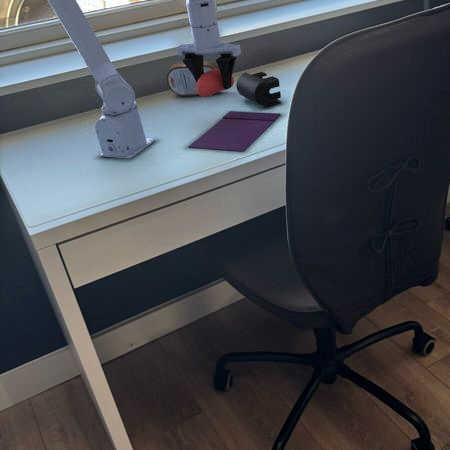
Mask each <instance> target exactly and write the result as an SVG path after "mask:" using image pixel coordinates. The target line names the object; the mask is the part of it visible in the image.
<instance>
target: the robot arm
mask: <svg viewBox="0 0 450 450" xmlns="http://www.w3.org/2000/svg"><path fill="white" fill-rule="evenodd" d="M47 2H48V4H49V5H50V7H51V8H52V10H53V12H54V14H55V15H56V17H57V18H58V20H59V22H60V23H61V25H62V27H63V28H64V30H65V32H66V33H67V35H68V37H69V39H70V40H71V42H72V44H73V45H74V47H75V49H76V50H77V52H78V53H79V55H80V57H81V58H82V60H83V62H84V63H85V65H86V66H87V69H88V71H89V72H90V74H91V77H93V79H94V82H95V90H96V93H97V95H98V96H99V97H100V98H101V100H102V101H103V102H102V105H101V108H100V109H101V116H100V118H99V119H98V120H97V121H96V122H95V127H94V128H95V133H96V135H97V139H98V142H99V146H100V149H101V153H100V154H99V155H100V157H105V158H106V157H107V158H117V159H127V160H128V159H129V160H130V159H132V158H134V157H135V156H136V155H138V154H139V153H141V152H142V151H143V150H145V149H146V148H147V147H149V146H150V145H151V144H153V143H154V142H155V141H156V138H151V137H146V135H145V131H144V127H143V123H142V119H141V116H140V111H139V107H138V103H137V102H136V93H135V90H134V89H133V87H132V86H131V85H130V84H129V83H128V82H126V80H125V78H124V77H123V76H122V75H121V74H120V73H119V72H118V70H117V68H116V67H115V66H114V64H113V63H112V61H111V59H110V58H109V56H108V54H107V53H106V50H105V49H104V47H103V45H102V43H101V41H100V40H99V38H98V35H96V33H95V31H94V29H93V28H92V25H91V24H90V22H89V21H88V19H87V17H86V15H85V13H84V12H83V10H82V8H81V6H80V4H79V3H78V1H77V0H47ZM185 5H186V11H187V15H188V16H187V17H188V21H189V26H190V32H191V37H192V43H187V44H186V43H185V44H179V45H178V46H176V51H177V55H178V56H179V57H180V56H181V57H183V56H184V58H183V59H182V63H184V64H185V65H186V66H187V68H188V69H189V70H190V72H191V73H192V75H193V77H194V79H195V81H196V83H197V82H198V80H199V78H200V76H202V75H203V74H204V66H203V62H204V56H219V57H218V58H215V62H216V65H218V67H219V69H220V72H221V76H222V82H223V87H224V89H225V90H224V91H226V90H227V91H228V90H229V89H231V88H232V87H231V81H232V77H233V71H234V68H235V64H236V61H237V57H238V56H240V55H242V49H241V44H234V43H225V42H221V41H222V40H221V36H220V29H219V23H218V16H217V11H216V7H215V6H216V4H215V0H185ZM230 87H231V88H230Z"/></svg>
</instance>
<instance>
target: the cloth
mask: <svg viewBox="0 0 450 450" xmlns="http://www.w3.org/2000/svg"><path fill="white" fill-rule="evenodd" d="M281 116H282V113H278V112H257V111H237V110H235V111H234V110H230V111H228V112H227V113H226V114H225V115H224V116H223V117H222V118H221V119H220V120H219V121H217V123H215V124H214V125H212V126H211V128H209V129H207V131H205V133H203V134H202V135H200V136H199V137H198V138H197V139H196V140H195V141H193V142H192V143H191V144H190V145H189V146H188V149H200V150H201V149H202V150H214V151H215V150H216V151H227V152H241V153H244V152H245V151H246V150H247V149H248V148H249V147H250V146H251V145H252V144H253V143H254V142H255V141H256V140H257V139H259V137H260V136H261V135H263V133H265V132H266V130H267V129H269V127H271V125H272V124H274V123H275V122H276V121H277V120H278V119H279V118H280V117H281Z"/></svg>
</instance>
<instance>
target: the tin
mask: <svg viewBox="0 0 450 450" xmlns="http://www.w3.org/2000/svg"><path fill="white" fill-rule="evenodd" d="M203 66H204V73H205V72H207V71H210V70H220V69H219V67H218V64H217V63H215V62H213V61H207V60H206V61H205V60H203ZM165 76H166V77H165V80H166V81H165V82H166V84H167V87H168V89H169V90H170V91H171V92H172V93H174V95H177V96H180V97H192V96H194V97H195V96H200V95H199V94H198V92H197V87H196V86H197V83H196V81H195V79H194V77H193V75H192V73H191V72H190V70H189V69H188V68H187V66H186V65H185V64H184V63H183V62H177V63H174V64H172V65H171V67H169V69H168V71H167V73H166V75H165ZM217 93H218V92H216V93H215V94H217Z"/></svg>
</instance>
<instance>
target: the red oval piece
mask: <svg viewBox="0 0 450 450" xmlns="http://www.w3.org/2000/svg"><path fill="white" fill-rule="evenodd" d="M234 84H235V79H234V76H232V81H231V87H230V88H229V89H231V88H232V87H233V86H234ZM196 87H197V92H198V94H199V95H198V96H199V97H202V98H209V97H211V96H213V95H215V94H217V93H219V92H223V91H226V90H225V89H224V87H223V82H222V76H221V72H220V70H210V71H207V72H205V73H204V74H203V75H202V76H200V78H199V80H198V82H197V86H196ZM216 92H217V93H216Z"/></svg>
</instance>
